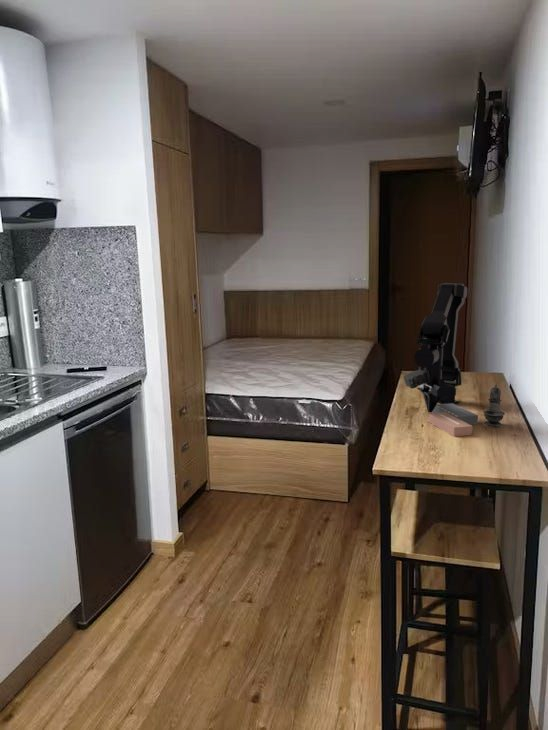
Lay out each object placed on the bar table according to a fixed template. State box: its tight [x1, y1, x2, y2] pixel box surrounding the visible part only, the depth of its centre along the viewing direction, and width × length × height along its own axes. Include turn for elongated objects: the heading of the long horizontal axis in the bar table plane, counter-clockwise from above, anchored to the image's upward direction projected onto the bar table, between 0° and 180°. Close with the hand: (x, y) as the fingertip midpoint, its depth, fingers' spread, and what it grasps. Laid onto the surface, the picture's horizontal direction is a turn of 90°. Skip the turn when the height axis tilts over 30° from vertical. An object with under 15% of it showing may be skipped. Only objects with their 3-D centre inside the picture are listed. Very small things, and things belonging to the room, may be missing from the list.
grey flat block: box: [431, 403, 479, 425], centre depth 170 cm, size 14×7×3 cm, turn 13°
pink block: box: [428, 412, 474, 437], centre depth 160 cm, size 14×6×3 cm, turn 13°
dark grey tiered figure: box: [483, 384, 506, 428], centre depth 163 cm, size 6×6×12 cm
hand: (429, 411), depth 171 cm, fingers closed
